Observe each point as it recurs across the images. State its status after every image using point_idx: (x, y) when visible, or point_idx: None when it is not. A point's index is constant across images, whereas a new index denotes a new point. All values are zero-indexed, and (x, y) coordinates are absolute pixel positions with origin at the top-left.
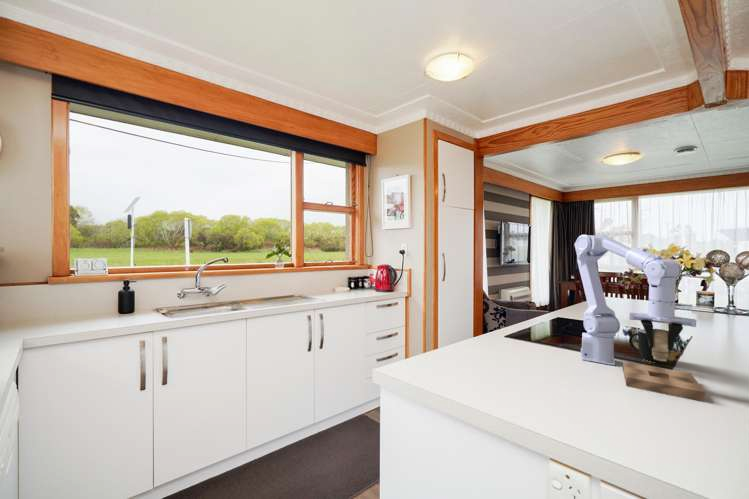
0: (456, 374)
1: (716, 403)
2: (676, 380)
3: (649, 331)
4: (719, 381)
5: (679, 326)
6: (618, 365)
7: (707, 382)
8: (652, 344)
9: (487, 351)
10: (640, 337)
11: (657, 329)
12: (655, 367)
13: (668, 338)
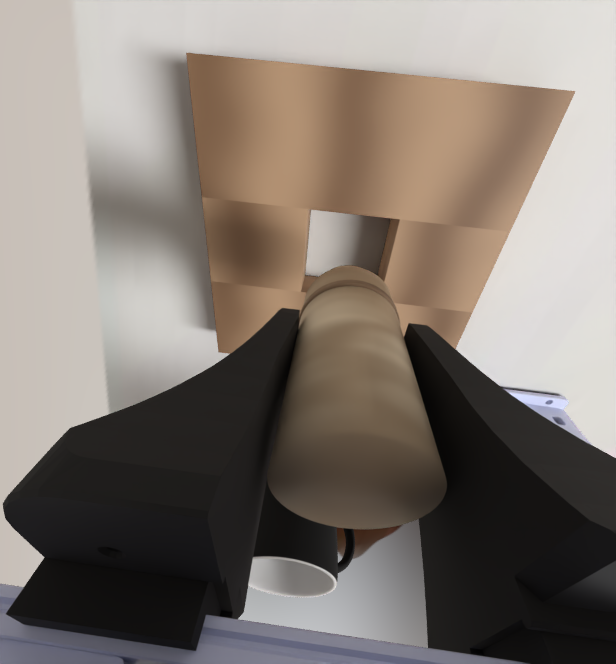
0: None
1: (165, 79)
2: (289, 209)
3: (527, 427)
4: (155, 375)
5: (64, 531)
6: None
7: (184, 350)
8: (421, 331)
9: None
10: (334, 546)
11: (377, 509)
12: None
13: (289, 387)
